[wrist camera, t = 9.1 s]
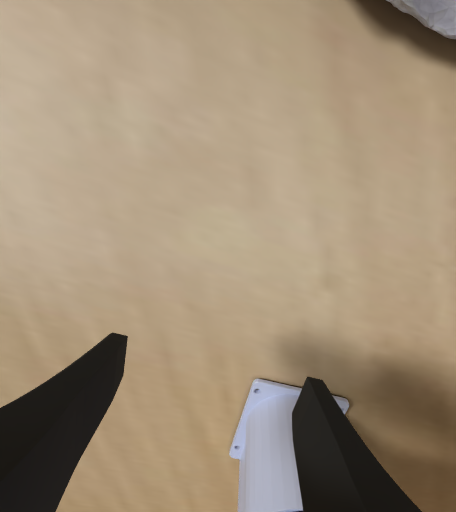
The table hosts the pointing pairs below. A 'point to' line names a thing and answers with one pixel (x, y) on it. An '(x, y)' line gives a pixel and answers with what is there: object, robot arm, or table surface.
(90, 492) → the table surface
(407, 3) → the stone block
